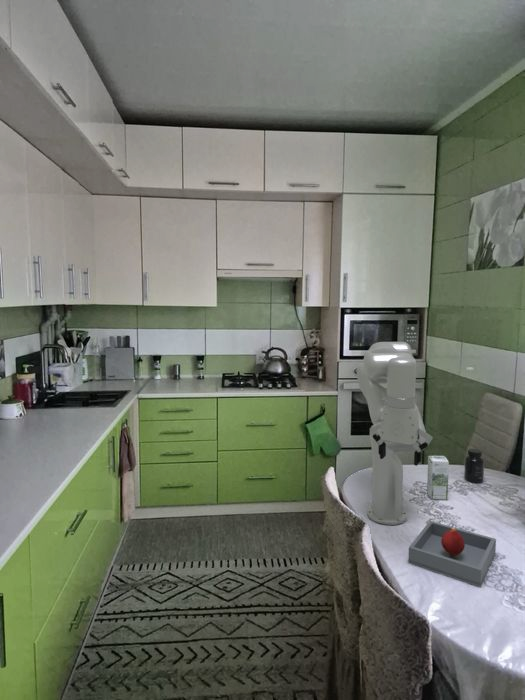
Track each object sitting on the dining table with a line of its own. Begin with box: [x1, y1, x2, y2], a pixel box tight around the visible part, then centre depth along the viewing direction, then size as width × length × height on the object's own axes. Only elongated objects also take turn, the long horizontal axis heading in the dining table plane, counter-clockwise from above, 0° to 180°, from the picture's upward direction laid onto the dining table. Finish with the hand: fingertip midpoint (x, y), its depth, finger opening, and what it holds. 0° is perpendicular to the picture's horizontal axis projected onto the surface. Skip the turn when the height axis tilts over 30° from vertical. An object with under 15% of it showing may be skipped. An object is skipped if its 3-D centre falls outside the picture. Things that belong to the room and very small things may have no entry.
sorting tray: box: [407, 520, 497, 588], centre depth 125 cm, size 18×18×4 cm
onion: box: [441, 527, 465, 556], centre depth 124 cm, size 6×6×8 cm
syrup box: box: [426, 455, 450, 501], centre depth 162 cm, size 6×6×14 cm
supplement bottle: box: [463, 448, 485, 484], centre depth 177 cm, size 7×7×12 cm
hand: (399, 460), depth 129 cm, fingers open, 9 cm apart
